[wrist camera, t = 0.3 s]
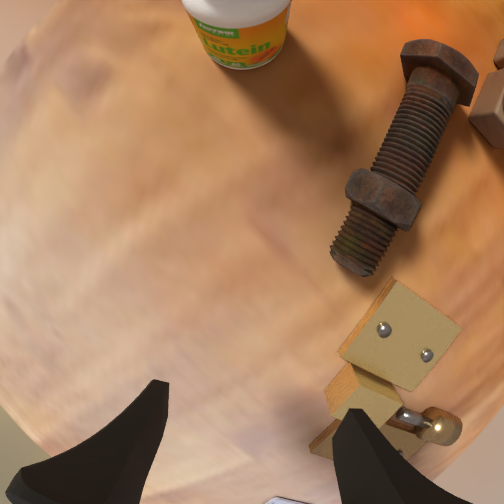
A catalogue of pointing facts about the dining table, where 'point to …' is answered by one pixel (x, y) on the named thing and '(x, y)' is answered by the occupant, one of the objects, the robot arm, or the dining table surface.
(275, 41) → the supplement bottle
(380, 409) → the loose leaf
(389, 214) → the bolt
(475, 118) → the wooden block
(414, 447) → the fixed leaf
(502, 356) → the dining table surface
